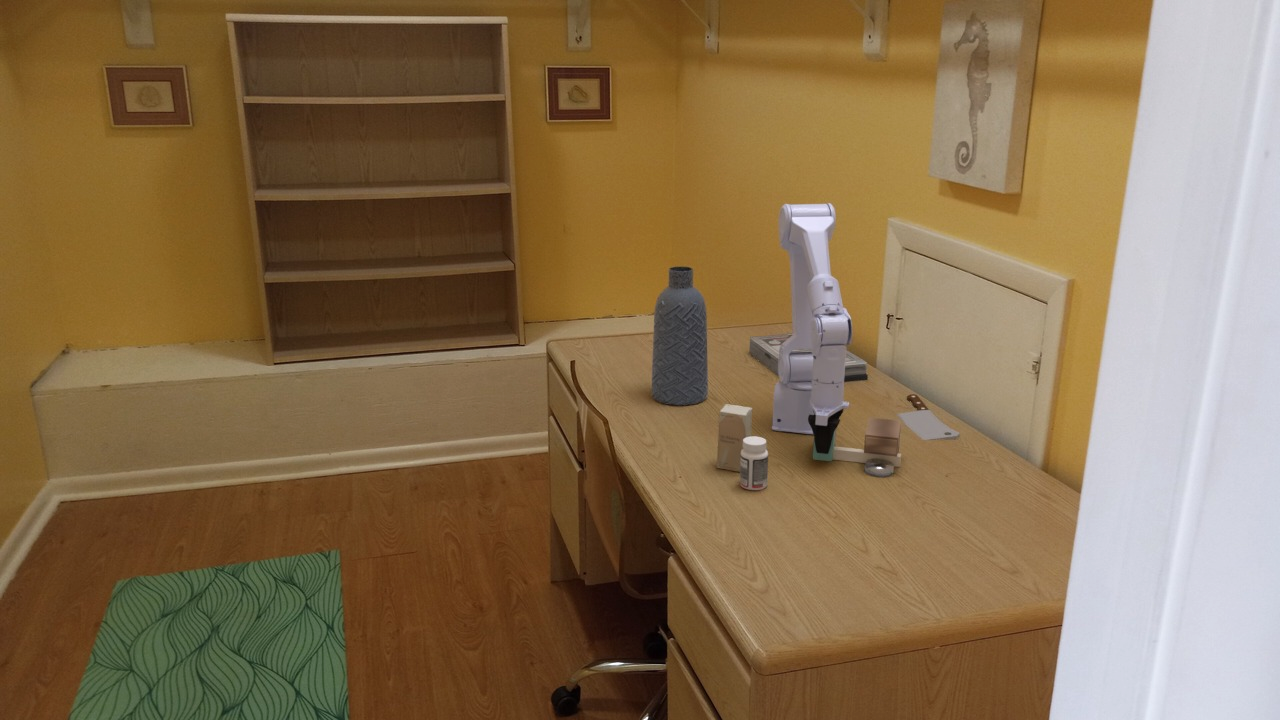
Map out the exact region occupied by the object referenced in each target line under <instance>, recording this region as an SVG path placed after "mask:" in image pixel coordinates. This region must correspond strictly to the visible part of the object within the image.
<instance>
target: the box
mask: <svg viewBox="0 0 1280 720" xmlns="http://www.w3.org/2000/svg"><path fill="white" fill-rule="evenodd" d="M752 415H753V407H749V406H742V405H737V404H736V405H735V404H729V403H727V404H726V403H725V404H724V405H723V407H722V408H721V409H720V410H719V419H718V420H719V421H718V435H717V436H718V437H717V439H718V440H717V455H716V456H717V457H716V468H717V469H723V470H727V471H734V472H737V473H738V472H740V460H741V451H742V449H743V439H744V438H746V437H750V436H751V435H752V434H751V433H752V420H753V417H752Z"/></svg>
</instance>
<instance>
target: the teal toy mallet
mask: <svg viewBox="0 0 1280 720" xmlns="http://www.w3.org/2000/svg"><path fill="white" fill-rule="evenodd" d="M836 430H837V428H836V429H835V431H834V434H833V438H832V442H831V447H830V450H829V453H828V454H823V453H817V451H816V447H815V440H814V439H813V450H812V460H817V461H826V462H833V461H834V460H835V461H836V460H837V461H844V462H852V463H862V464H865V462H866V461H867V460H870V459H883V460H887V461H890V462H892V463H893V464H894V468H896V467H897V468H900V467H901V460H902V459H901V458H902V453H897V457H896V456H887V455H878V454H869V453H864V448H863V449H862V448H854V447H853V448H852V447H844V446H836Z"/></svg>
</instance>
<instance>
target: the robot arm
mask: <svg viewBox="0 0 1280 720" xmlns="http://www.w3.org/2000/svg"><path fill="white" fill-rule="evenodd" d="M836 215H837V213H836V209H835V207H834V205H832V203H830V202H827V203H804V204H803V203H802V204H788V203H784V204H783V205H782V206H781V208H780V209H779V214H778V239H779V240H778V241H779V243H780V244H779V245H780V248H781V249H783V250H785V251H787V253H788V258H789V272H790V300H791V319H792V321H791V323H792V324H791V325H792V334H793V335H792V336H791V337H790V338H789V339H787V340H786V341H785V342H784V343H782V345H781V346H780V348H779V359H778V374H779V376H778V379H779V380H780V381H777V382H776V383H775V387H774V392H773V401H772V403H773V407H772V426H771V430H772V431H777V432H786V433H795V434H796V433H797V434H806V435H813V441H814V440H815V447H816V451H817V453H823V454H828V453H829V450H830V447H831V442H832V438H833V434H834V431H835V429H836V430H837V427H838V426H839V425H840V422H841V419H840V418H841V416H842V415H843V413H844V410H848V409H849V408H850V402H849V401H844V387H845V382H844V376H845V360H846V350H847V346H850V344H851V343H852V339H853V323H852V318H851V315H850V314H849V313H848V309H847V308H846V307H844V305H843V300H842V299H843V298H842V294H841V293H842V292H841V289H840V283H839V280H838V279H837V278H835V277H834V276H832V273H831V272H832V271H831V262H830V250H829V242H831V240H832V238H833V233H834V231H835V229H836V223H837V222H836V221H837V218H836V217H837V216H836ZM846 345H847V346H846ZM803 349H811V351H812V352H791V351H792V350H803Z"/></svg>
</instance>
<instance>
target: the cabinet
mask: <svg viewBox="0 0 1280 720" xmlns="http://www.w3.org/2000/svg"><path fill="white" fill-rule="evenodd" d="M867 422H868V423H867V425H866V431H865V434H864V448H863V450H864V453H869V454H878V455H887V456H896V457H897V453H899V452H900V444H901V443H900V442H901V429H902V420H899V419H898V420H896V419H887V418H886V419H885V418H877V417H869V418H868V421H867ZM899 454H900V453H899Z"/></svg>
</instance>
